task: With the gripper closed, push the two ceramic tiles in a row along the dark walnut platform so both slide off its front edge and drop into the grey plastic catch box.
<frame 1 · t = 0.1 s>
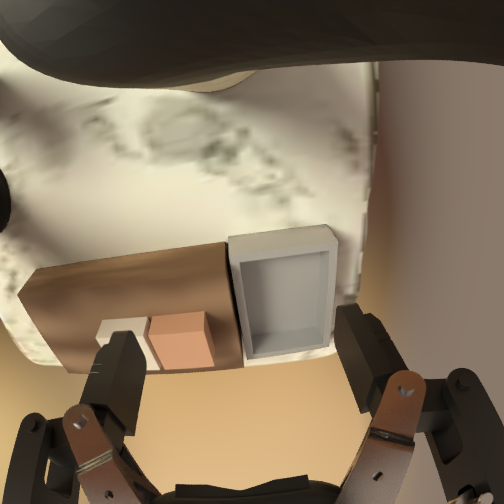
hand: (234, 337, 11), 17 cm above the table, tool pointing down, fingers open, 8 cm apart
terracotta tile: (184, 332, 27), point 5 cm above the table, touching walnut platform
catch box: (281, 288, 32), on the table
cream tile: (133, 336, 27), point 5 cm above the table, touching walnut platform
walnut platform: (134, 305, 31), on the table
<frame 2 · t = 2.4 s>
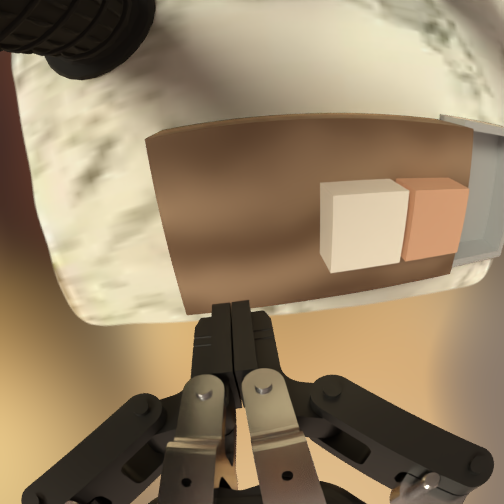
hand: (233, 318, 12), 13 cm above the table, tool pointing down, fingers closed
terracotta tile: (420, 210, 19), point 5 cm above the table, touching walnut platform
catch box: (467, 186, 24), on the table
cream tile: (355, 216, 19), point 5 cm above the table, touching walnut platform
handle grip: (94, 22, 15), on the table
walnut platform: (320, 193, 23), on the table
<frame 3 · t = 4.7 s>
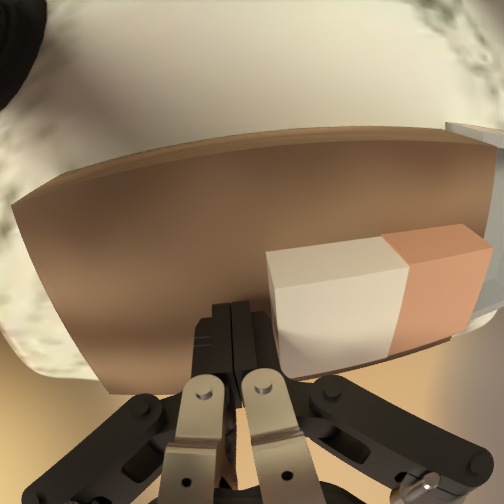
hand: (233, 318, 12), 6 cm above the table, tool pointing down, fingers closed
terracotta tile: (417, 274, 13), point 5 cm above the table, touching cream tile, walnut platform
catch box: (480, 217, 17), on the table
cream tile: (325, 292, 13), point 5 cm above the table, touching gripper, terracotta tile
walnut platform: (270, 245, 17), on the table
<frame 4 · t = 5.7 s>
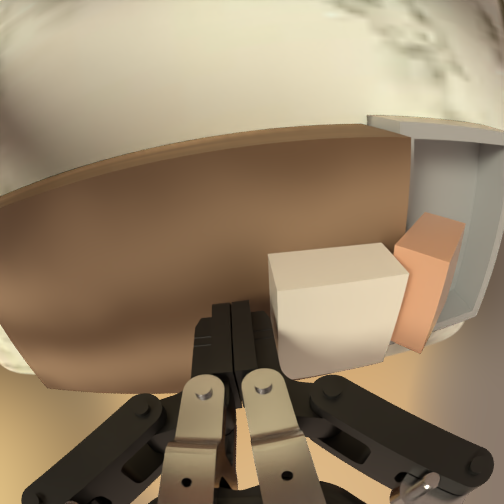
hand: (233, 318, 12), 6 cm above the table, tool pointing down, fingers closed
terracotta tile: (405, 270, 14), point 4 cm above the table, tilted 40°
catch box: (426, 222, 17), on the table
cream tile: (324, 296, 13), point 5 cm above the table, touching gripper
walnut platform: (171, 257, 17), on the table
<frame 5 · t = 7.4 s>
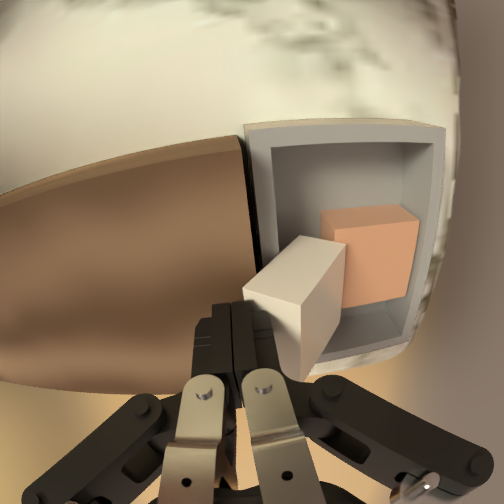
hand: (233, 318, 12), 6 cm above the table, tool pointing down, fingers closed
terracotta tile: (375, 267, 15), point 3 cm above the table, tilted 180°, touching catch box, cream tile
catch box: (336, 236, 17), on the table
cream tile: (277, 301, 14), point 4 cm above the table, tilted 51°, touching gripper, terracotta tile
walnut platform: (77, 271, 17), on the table
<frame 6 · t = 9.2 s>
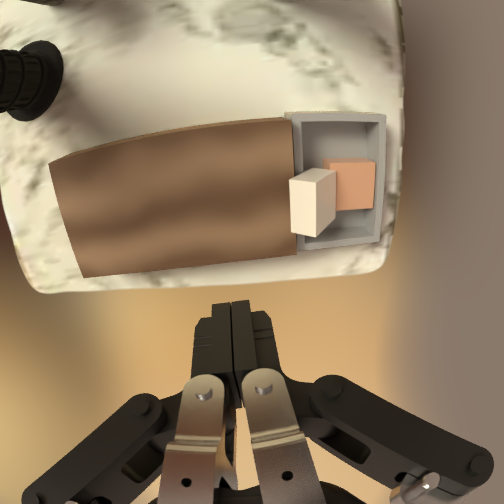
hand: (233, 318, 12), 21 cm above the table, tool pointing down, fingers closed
terracotta tile: (353, 186, 28), point 3 cm above the table, tilted 180°, touching catch box, cream tile
catch box: (331, 174, 31), on the table
cream tile: (302, 198, 28), point 4 cm above the table, tilted 51°, touching terracotta tile, walnut platform
handle grip: (30, 80, 22), on the table
walnut platform: (176, 190, 30), on the table
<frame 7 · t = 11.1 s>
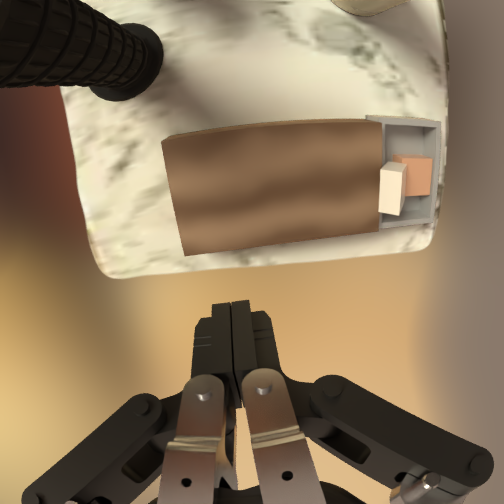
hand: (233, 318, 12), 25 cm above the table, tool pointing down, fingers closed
terracotta tile: (417, 177, 32), point 3 cm above the table, tilted 180°, touching catch box, cream tile
catch box: (397, 167, 35), on the table
cream tile: (383, 185, 32), point 4 cm above the table, tilted 51°, touching terracotta tile, walnut platform
handle grip: (122, 61, 26), on the table
walnut platform: (275, 175, 34), on the table
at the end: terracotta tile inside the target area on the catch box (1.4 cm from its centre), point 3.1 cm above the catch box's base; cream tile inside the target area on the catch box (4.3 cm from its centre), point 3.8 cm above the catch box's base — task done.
